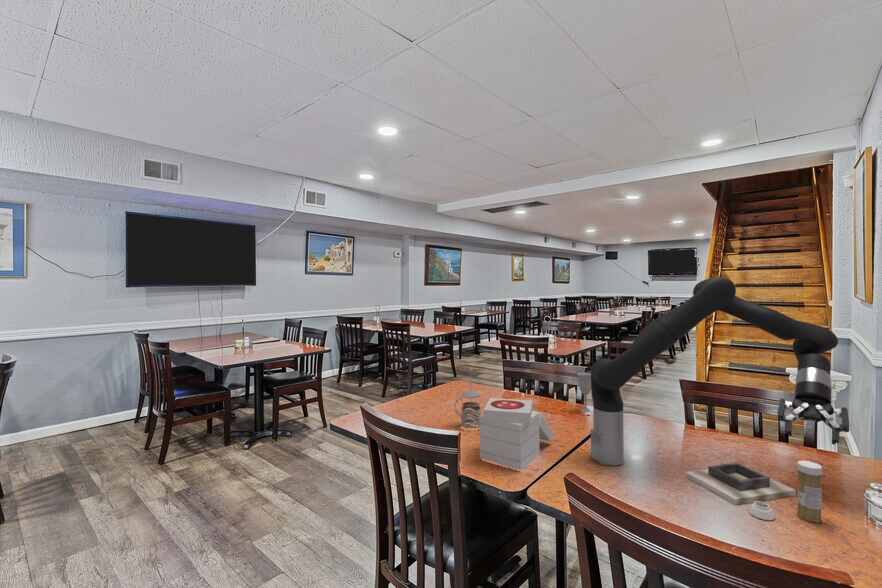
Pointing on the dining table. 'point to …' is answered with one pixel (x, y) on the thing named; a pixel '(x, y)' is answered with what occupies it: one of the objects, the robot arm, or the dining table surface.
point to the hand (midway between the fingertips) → (811, 438)
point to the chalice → (585, 387)
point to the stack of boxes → (511, 432)
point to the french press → (470, 405)
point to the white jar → (761, 511)
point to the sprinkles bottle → (809, 491)
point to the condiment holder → (739, 484)
